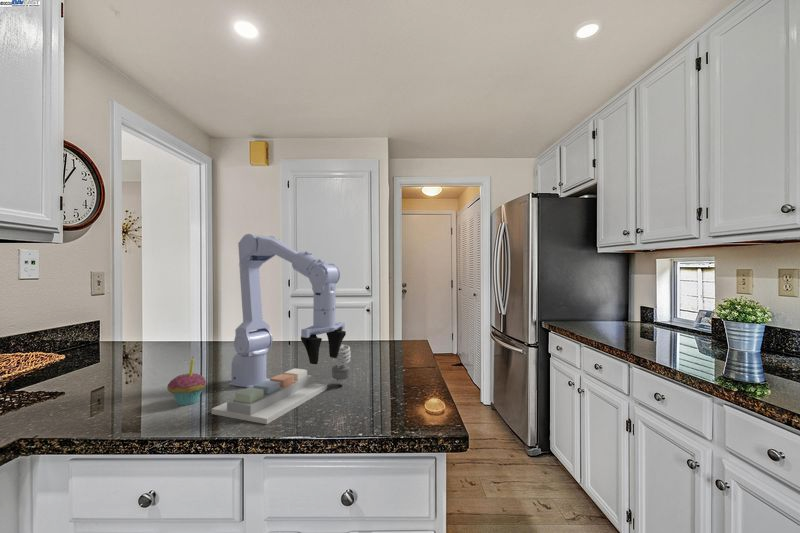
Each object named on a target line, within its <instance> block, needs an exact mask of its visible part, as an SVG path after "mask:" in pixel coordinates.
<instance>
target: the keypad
mask: <svg viewBox="0 0 800 533" xmlns="http://www.w3.org/2000/svg"><path fill="white" fill-rule="evenodd" d="M326 390H328V385H327V384H323V383H316V382H314V375H311V374H307V377H306V378H304V379H302V380H300V381H294V383H293V384H291V385H289V386H287V387H285V388H281V387H280V390H279V391H277V392H275V393H272V394H270V395H264V398H262V399H260V400H258V401H256V402H254V403H252V404H246V403H240V402H235V398H233V399H230V400H228V401H226V402H223V403H221V404H220V405H217V406H214V407H212V408H211V415H216V416H220V417H226V418H232V419H236V420H242V421H248V422H252V423H257V424H258V423H259V424H263V425H269V424H270V423H272V422H273V421H275V420H277V419H278V418H280V417H282V416H284V415H285V414H287V413H288V412H290V411H292V410H293V409H295V408H297V407H299V406H301V405H302V404H304V403H306V402H308V401H309V400H311V399H312V398H314V397H317V396H318V395H319V394H321V393H322V392H325V391H326Z"/></svg>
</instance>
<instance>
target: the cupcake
mask: <svg viewBox="0 0 800 533" xmlns="http://www.w3.org/2000/svg"><path fill="white" fill-rule="evenodd" d="M194 358H195V356H194V355H193V356H192V358H191V359H190V367H189V373H185V374H179V375H178V376H175V377H174V378H172V379H171V380H170V381H169V382H168V384H167V388H166V389H167V390H168V391H167V392H169V393H171V394H172V395H173V397H174V399H175V402H176V404H177V406H188V404H190V405H193V404H196V403H197V402H199V399H200V397H201V393H202V392H203V389H204V387H205V386H206V385H207V380H206V378H205V377H204V376H203V375H201V374H198V373H193V371H194V363H195V359H194ZM195 402H196V403H195ZM192 403H193V404H192Z"/></svg>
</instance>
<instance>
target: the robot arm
mask: <svg viewBox="0 0 800 533" xmlns="http://www.w3.org/2000/svg"><path fill="white" fill-rule="evenodd" d="M237 245H238V246H237V247H238V258H239V259H238V260H239V264H238V266H239V278H240V280H239V281H240V292H241V294H240V295H241V309H242V312H241V313H242V323H240V324H239V325H238V326H237V327H236V328H235V330H234V332H235V337H234V339H233V347H234V350H235V351H236V352H237V353H236V354H234V356H233V357H232V361H231V380H230V381H231V382H229V384H228V385H229V386H236V387H240V388H241V387H242V388H249V387H250V388H254V385H256V384H258V383H260V382H263V381H265V380H268V381H270V378H267V352H268V353H269V349H270V348H271V347H272V345H273V339H274V338H273V335H272V332H271V329H270V325H269V323H267V322H266V321H265V320H264V317H263V308H262V307H263V304H262V290H261V277H260V268H261V266H262V265H263V264H265V263H266V262H268V261H269V260H270V259H272V258H274V257H275V256H277V257H278V258H281V259H283V260H285V261H288V262H289V263H291V266H292V269H293V270H294V271H296V272H298V273H299V274H301V275H302V276H305V277H306V278H308V280H309V282H310V285H311V290H312V292H313V304H312V305H313V306H312V307H313V308H312V309H313V312H312V314H313V315H312V318H313V319H312V320H313V321H312V322H313V324H312V325H311V326H308V327H306V328H302V329H301V331H300V332H301V334H300V335H301V336H300V340H301V342H302V344H303V346H304V348H305V351H306V353H307V357H308V360H309V364H311V365H318V363H319V356H320V355H319V354H320V353H319V352H320V348H321V343H322V341H323V338H322V337H318V335H322V334H326V337H327V340H328V351H329V352H328V353H329V357H330V358H331V359H338V358H337V356H338V355H339V354H338V352H339V351H340V350H339V349H340V345H341V344H342V343H343V340H344V338H345V337H346V335H347V334H346V333H347V332H346V331H345V326H346V324H345V322H341V321H338V322H336V290H337V289H336V286H337V285H336V284H338V282H339V281H340V278H341V273H340V270H339V268H338V266H336V265H335V264H334V263H327V264H326V263H325V260H323V259H322V258H319V259H318V258H317V257H315V256H313V255H312V252H311V251H310V250H309V251H307V250H305V251H299V252H298V251H297V250H295V249H293V248H292V247H291V246H289V245H287V244H286V243H285V242H283V241H281V239H280V238H278V237H277V238H276V236H273V235H271V236H270V235H269V236H267V235H266V236H265V235H258V234H252V233H247V234H244V235H243V236H242V238H241V239H240V240H239V241H238V244H237Z"/></svg>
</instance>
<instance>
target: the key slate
mask: <svg viewBox="0 0 800 533" xmlns="http://www.w3.org/2000/svg"><path fill="white" fill-rule="evenodd" d="M254 388H257V389H264V395H270V394H272V393H275V392H277V391H279V390H280V382H275V381H268V380H265V381H263V382H260V383H258V384H256V385H254Z"/></svg>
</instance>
